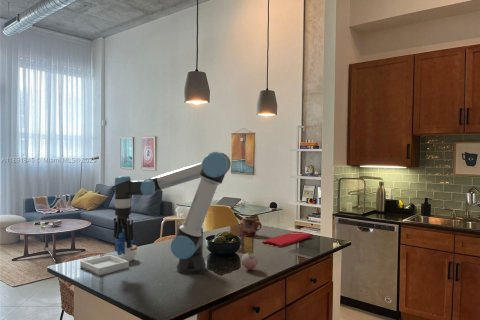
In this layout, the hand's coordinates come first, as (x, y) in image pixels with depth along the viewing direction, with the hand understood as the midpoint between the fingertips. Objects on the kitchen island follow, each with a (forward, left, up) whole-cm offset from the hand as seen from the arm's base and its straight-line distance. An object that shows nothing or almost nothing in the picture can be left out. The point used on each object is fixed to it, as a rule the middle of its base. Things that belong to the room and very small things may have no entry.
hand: (123, 253), depth 179 cm
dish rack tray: (+18, 0, -11) cm, 22 cm away
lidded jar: (+21, -16, -12) cm, 29 cm away
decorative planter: (+9, -115, -12) cm, 116 cm away
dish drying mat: (-20, -120, -12) cm, 122 cm away
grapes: (0, 0, -1) cm, 1 cm away
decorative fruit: (-42, -49, -11) cm, 65 cm away
